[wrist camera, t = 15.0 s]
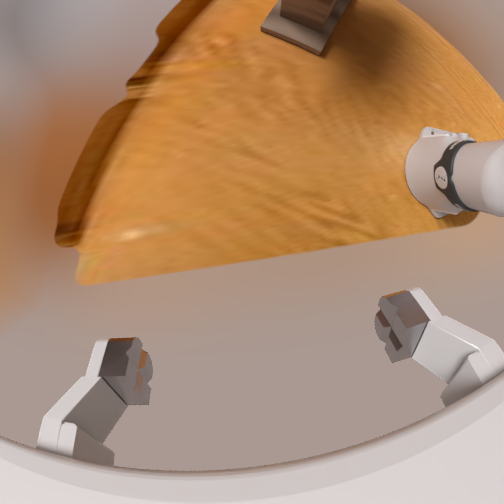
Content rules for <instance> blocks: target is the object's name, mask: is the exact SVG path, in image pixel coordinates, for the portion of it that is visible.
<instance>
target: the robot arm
mask: <svg viewBox="0 0 504 504" xmlns="http://www.w3.org/2000/svg"><path fill="white" fill-rule="evenodd" d="M431 132H432V133H433V135H432V134H431ZM405 173H406V179H407V183H408V186H409V189H410V191H411V192H412V194H413V196H414V197H415V198H416V199H417V200H418V201H419V202H420V203H422V204H423V205H425V206H426V207H428V208H429V210H430V212H431V213H432V215H433V216H434V217H436V218H441V217H443V216H445V215H447V214H454V215H457V214H458V213H459V212H461V211H463V210H465V211H475V212H476V211H482V212H485V213H489V214H493V215H496V216H500V217H503V216H504V139H501V140H496V141H487V142H476V141H475V140H474V139H473V138H470V137H469V135H468V134H467V133H459V134H457V133H452V132H448V131H444V130H440V129H436V128H431V127H424V128H423V129H422V131H421V134H420V137H419V139H418V140H417V142H416V143H415V144H414V145H413V146H412V147H411V149H410V151H409V153H408V155H407V159H406V165H405ZM378 306H379V307H380V310H379V311H378V313H377V314H376V317H375V329H376V333H377V335H378V337H379V339H380V340H382V341H384V342H385V343H386V345H385V350H386V352H387V354H388V356H389V358H390V360H391V362H392V363H394V362H397V361H400V360H403V359H406V358H409V357H412V356H413V357H412V358H413V359H415V360H416V361H417V362H419V363H420V364H421V365H423V366H424V367H426V368H427V369H428V370H430V371H431V372H432V373H434V374H435V375H437V376H438V377H439V378H441V379H442V380H443V381H445V382H446V383H448V386H447V387H446V388H445V390H444V391H443V392H442V394H441V399H442V401H443V403H444V405H445V407H446V408H444V409H442V410H440V411H438V412H436V413H434V414H432V415H430V416H428V417H426V418H424V419H422V420H419V421H417V422H415V423H413V424H410V425H408V426H406V427H403V428H401V429H398V430H396V431H393V432H391V433H388V434H386V435H383V436H380V437H378V438H375V439H372V440H369V441H366V442H363V443H360V444H357V445H354V446H350V447H347V448H344V449H340V450H337V451H333V452H329V453H325V454H321V455H317V456H313V457H308V458H304V459H300V460H294V461H289V462H283V463H279V464H278V463H277V464H272V465H264V466H257V467H248V468H239V469H226V470H208V471H166V470H148V469H136V468H126V467H118V466H114V453H113V451H112V450H110V449H109V448H107V447H106V446H104V445H103V442H104V441H105V439H106V438H107V436H108V435H109V433H110V431H111V430H112V429H113V427H114V426H115V424H116V423H117V421H118V420H119V418H120V417H121V415H122V414H123V412H124V411H125V410H126V408H127V405H149V398H150V390H151V388H150V387H149V385H148V384H147V383H148V382H149V381H150V380H151V378H152V373H153V368H152V361H151V358H150V356H149V354H148V353H147V352H146V351H144V350H142V343H141V341H140V340H139V338H135V337H134V338H111V339H98V340H97V341H96V343H95V346H94V349H93V352H92V355H91V359H90V362H89V365H88V369H87V372H86V376H85V377H81V378H80V379H79V380H78V381H77V382H76V383H75V384H74V385H73V386H72V387H71V388H70V390H69V391H68V392H67V393H66V394H65V395H64V396H63V397H62V398H61V399H60V400H59V401H58V402H57V403H56V404H55V405H54V406H53V407H52V408H51V409H50V411H49V412H48V413H47V414H46V415H45V416H44V417H43V421H42V425H41V429H40V433H39V438H38V442H37V446H36V448H33V447H30V446H27V445H24V444H21V443H18V442H15V441H13V440H10V439H8V438H5V437H2V436H0V504H504V353H503V352H502V350H501V349H500V347H499V346H498V344H497V343H496V342H495V340H493V339H491V338H489V337H487V336H485V335H483V334H481V333H479V332H478V331H475V330H474V329H471V328H470V327H468V326H465V325H463V324H462V323H460V322H458V321H456V320H454V319H451V318H449V317H447V316H442V315H441V314H440V312H439V311H438V310H437V309H436V307H435V306H434V305H433V303H432V302H431V301H430V299H429V298H428V297H427V296H426V294H425V293H424V292H423V291H422V289H421V288H419V287H415V288H411V289H408V290H404V291H400V292H397V293H393V294H389V295H386V296H382V297H381V298H380V300H379V304H378Z"/></svg>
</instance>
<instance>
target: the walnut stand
mask: <svg viewBox="0 0 504 504" xmlns="http://www.w3.org/2000/svg"><path fill="white" fill-rule="evenodd" d="M350 1H351V0H278V2H277V3H276V5H275V6H274V7H273V9H272V10H271V12H270V13H269V15H268V16H267V18H266V19H265V21H264V22H263V24H262V25H261V31H262V32H265V33H268V34H270V35H273V36H276V37H278V38H281V39H283V40H285V41H288V42H290V43H292V44H295V45H297V46H299V47H302V48H304V49H306V50H308V51H310V52H312V53H314V54H316V55H318V56H319V55H320V53H321V51H322V49H323V48H324V46H325V44H326V42H327V41H328V39H329V37H330V35H331V33H332V32H333V30H334V28H335V26H336V25H337V23H338V21H339V20H340V18H341V16H342V14H343V13H344V11H345V9H346V8H347V6H348V4H349V2H350Z"/></svg>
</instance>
